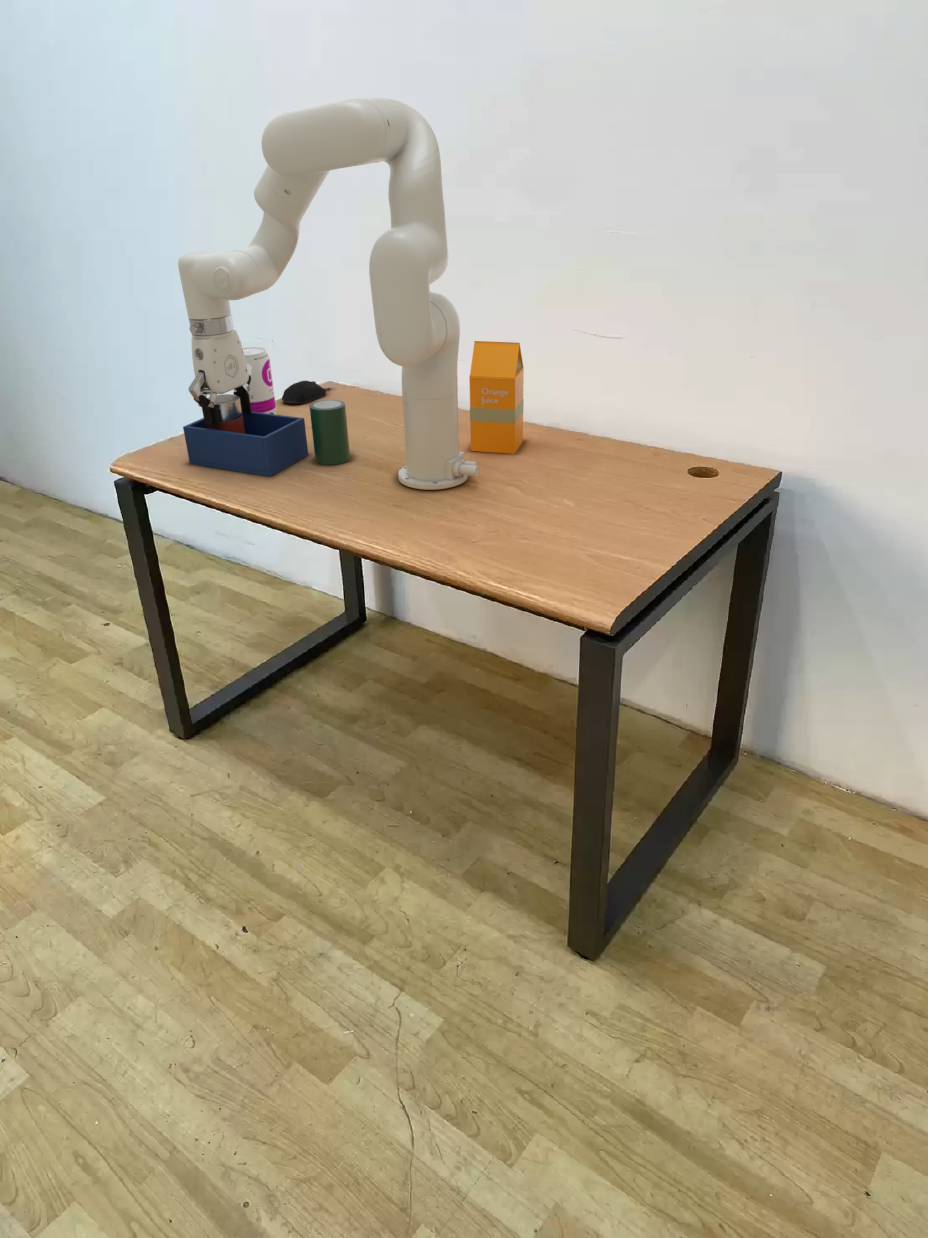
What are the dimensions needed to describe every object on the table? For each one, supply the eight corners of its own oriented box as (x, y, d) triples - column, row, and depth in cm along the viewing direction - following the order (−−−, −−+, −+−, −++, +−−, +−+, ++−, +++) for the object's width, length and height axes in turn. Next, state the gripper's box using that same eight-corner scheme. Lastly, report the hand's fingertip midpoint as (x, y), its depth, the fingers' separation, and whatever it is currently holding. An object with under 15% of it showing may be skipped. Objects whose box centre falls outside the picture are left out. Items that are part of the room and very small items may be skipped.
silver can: (255, 449, 176) (247, 395, 170) (234, 460, 170) (225, 405, 165) (227, 445, 178) (219, 392, 173) (205, 455, 173) (196, 401, 168)
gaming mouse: (340, 391, 213) (338, 374, 211) (296, 407, 202) (294, 389, 200) (320, 387, 216) (318, 370, 214) (276, 403, 205) (274, 385, 203)
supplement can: (281, 416, 196) (273, 346, 189) (271, 428, 189) (261, 356, 182) (245, 416, 197) (235, 346, 190) (233, 428, 190) (222, 356, 183)
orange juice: (515, 454, 172) (515, 347, 162) (470, 451, 174) (468, 345, 164) (523, 440, 178) (524, 337, 168) (480, 438, 181) (478, 336, 171)
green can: (356, 455, 173) (351, 401, 168) (338, 466, 168) (333, 411, 163) (327, 451, 176) (321, 397, 171) (308, 462, 171) (302, 407, 165)
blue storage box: (308, 454, 174) (304, 417, 171) (270, 476, 165) (265, 438, 161) (230, 443, 181) (225, 407, 178) (189, 463, 171) (182, 426, 168)
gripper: (197, 337, 154) (216, 435, 162) (257, 317, 167) (272, 408, 176) (163, 336, 157) (183, 432, 165) (225, 316, 170) (241, 405, 179)
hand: (229, 419), depth 171 cm, fingers open, 9 cm apart
